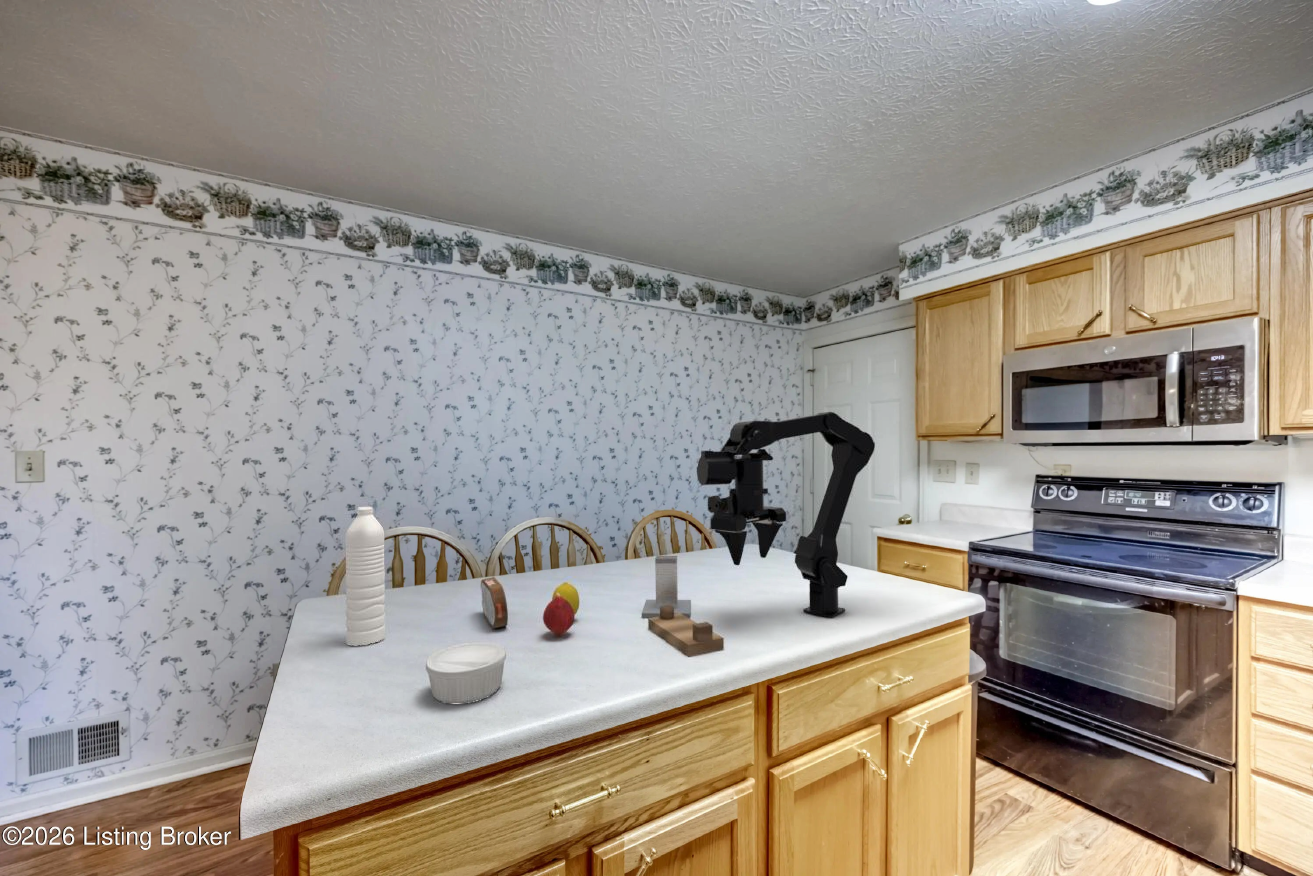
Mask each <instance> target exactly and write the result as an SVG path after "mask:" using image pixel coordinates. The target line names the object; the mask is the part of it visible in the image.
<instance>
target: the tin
mask: <svg viewBox="0 0 1313 876" xmlns="http://www.w3.org/2000/svg"><path fill="white" fill-rule="evenodd" d="M480 590H481V606H482V611H483V615H484V618H486V620H487V622H488V623H489V625H490V626H491V628H492V629H499V627H500V628H504V626H505V628H506V627H507V626H508V619H509V612H508V602H507V598H506V597H507V596H506V593H505V589H504V587H503V584H501V582H500V581H499V580H498V579H497V578H496V577H495V576H492V577H487V578H483V579H481V581H480Z"/></svg>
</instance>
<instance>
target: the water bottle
mask: <svg viewBox="0 0 1313 876" xmlns="http://www.w3.org/2000/svg"><path fill="white" fill-rule="evenodd" d="M373 509H374V508H373V507H372V506H359V507H357V512H356V513H357V515H356V516H355V518H354V519H353V521H352V522H351V524H350V525H349V526H348V529H346V532H345V537H344V539H345V555H346V556H345V573H346V574H345V586H346V589H345V598H346V599H345V604H346V607H345V608H346V609H345V617H346V620H345V627H346V631H345V634H346V635H345V636H346V637H345V640H346V641H345V642H346V644H347V643H348V644H351V645H350V646H352V645H360V646H361V645H365V644H370V643H372V644H373V643H375V642H378V641H380V640H381V641H383V640H384V639H385V638H386V614H385V613H386V605H385V604H386V594H385V593H386V584H385V581H386V580H385V579H386V575H385V568H386V567H385V530H384V528H383V526H382V525H381V524H380V522H379V521H378V520H377V518H376V517H375V515H373V513H374V510H373ZM382 639H383V640H382ZM381 641H380V642H381ZM378 643H379V642H378ZM348 644H347V645H348ZM375 644H376V643H375ZM370 645H371V644H370Z"/></svg>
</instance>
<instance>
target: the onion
mask: <svg viewBox="0 0 1313 876" xmlns="http://www.w3.org/2000/svg"><path fill="white" fill-rule="evenodd" d="M575 615H576V614H574V610H573V607H572V606H571V605H570V603H569V602H568V601H567V600H566V599H564V598H563V597H561V596H560V594H559V593H556V596H555V599H553V600H552V599H551V600H550V601H549V603H548V604H547V605H546V606H545V608H544V610H543V614H542V620H543V623H544V625H545V627H546V628H547V629H548V630H549V631H550V632H551V633H552V634H554V635H555V636H556V637H560V636H562V635H564V634H565V633H566V632H568V630H569V629H570V628H571V627H572V626H573V624H574V623H575V622H574V621H575Z"/></svg>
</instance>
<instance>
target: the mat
mask: <svg viewBox="0 0 1313 876" xmlns="http://www.w3.org/2000/svg"><path fill="white" fill-rule="evenodd" d="M691 609H692V600H691V599H678V607H677V609H674V614H678V613H680V614H682V615H684V616H686V617H688V618H689V619H691V615H692V614H691V613H692V612H691V611H692V610H691ZM654 617H660V608H656V599H645V602H644V606H643V608H642V612H641V619H648V618H654Z"/></svg>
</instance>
